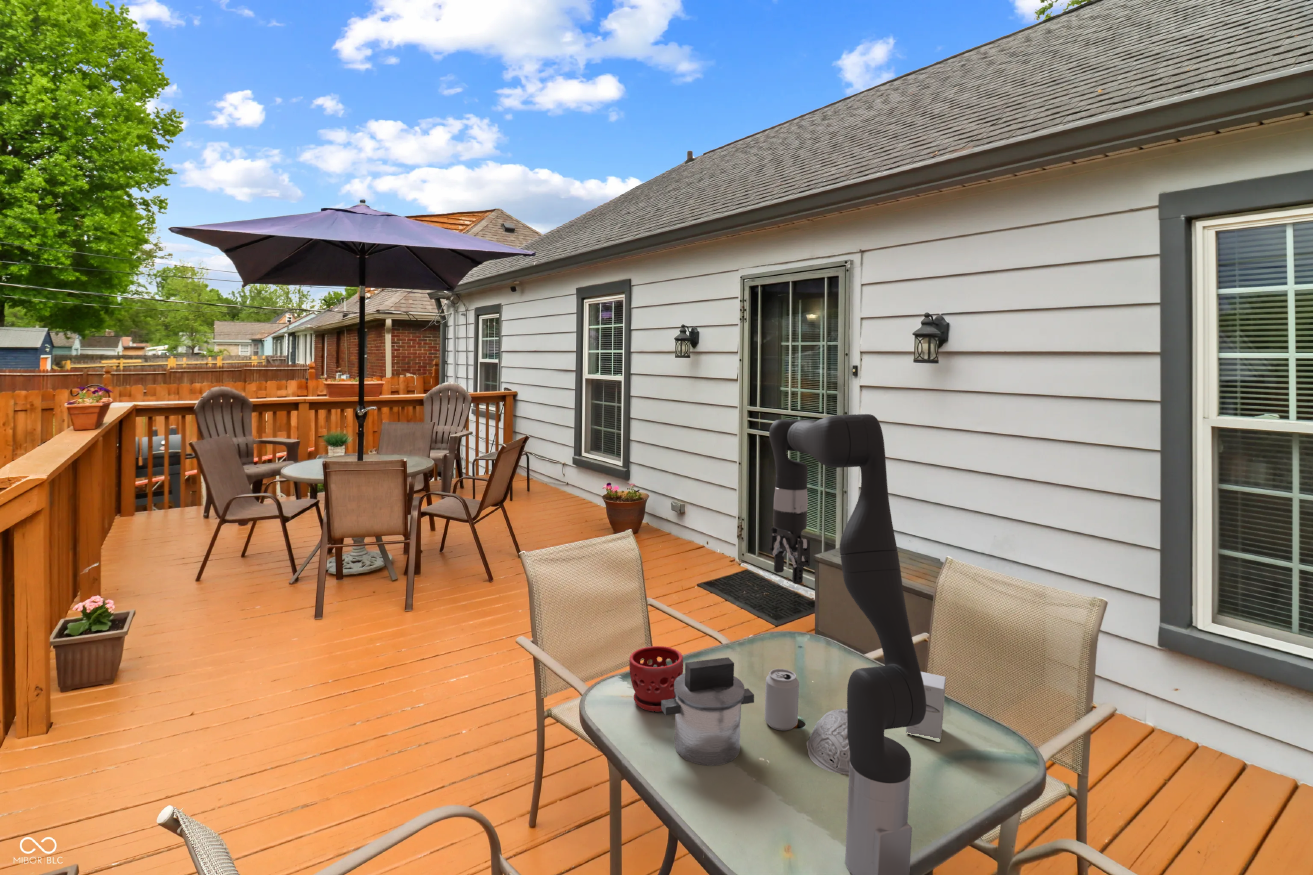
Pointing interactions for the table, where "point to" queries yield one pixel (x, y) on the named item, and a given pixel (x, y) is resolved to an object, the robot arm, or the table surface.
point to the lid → (709, 685)
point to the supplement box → (931, 707)
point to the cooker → (706, 731)
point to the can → (781, 699)
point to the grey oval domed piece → (831, 742)
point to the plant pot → (654, 675)
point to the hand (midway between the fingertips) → (787, 577)
